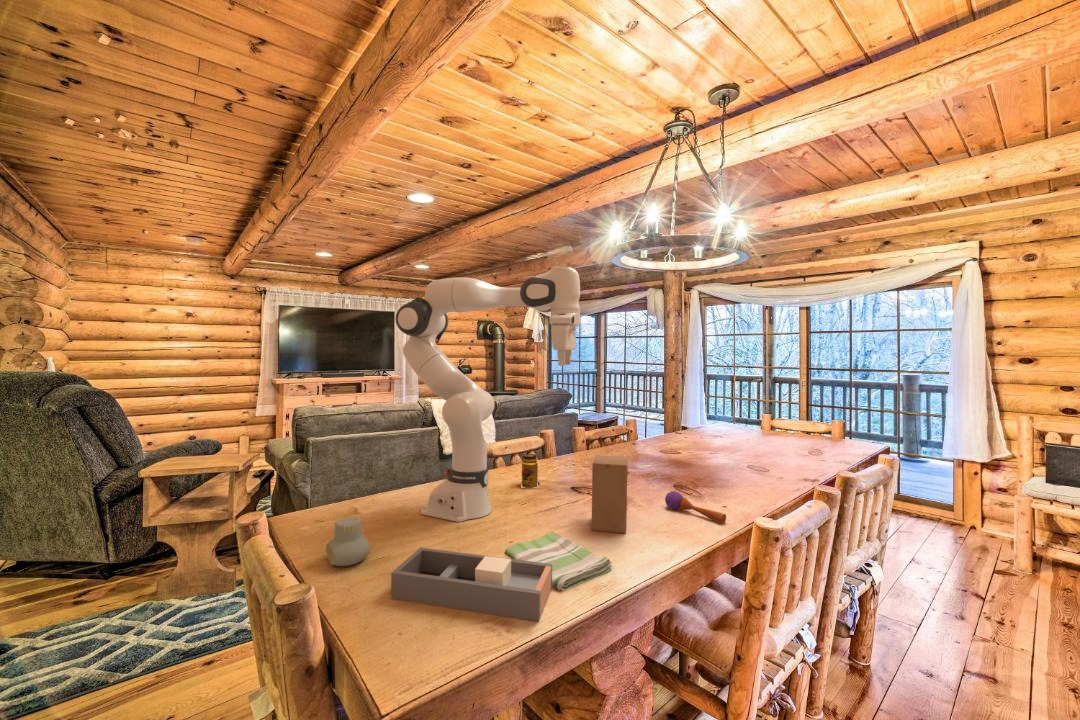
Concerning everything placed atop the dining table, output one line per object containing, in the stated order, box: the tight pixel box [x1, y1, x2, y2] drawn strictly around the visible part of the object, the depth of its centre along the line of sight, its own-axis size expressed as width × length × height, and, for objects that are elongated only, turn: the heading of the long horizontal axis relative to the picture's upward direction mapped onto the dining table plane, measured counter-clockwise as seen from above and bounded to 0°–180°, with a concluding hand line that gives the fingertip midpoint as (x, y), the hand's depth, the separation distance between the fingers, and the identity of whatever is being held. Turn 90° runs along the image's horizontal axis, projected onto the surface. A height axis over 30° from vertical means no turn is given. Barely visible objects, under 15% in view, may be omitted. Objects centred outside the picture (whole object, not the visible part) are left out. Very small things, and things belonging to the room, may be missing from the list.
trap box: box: [390, 547, 553, 623], centre depth 96 cm, size 32×12×6 cm, turn 77°
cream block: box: [475, 555, 512, 586], centre depth 95 cm, size 6×6×4 cm
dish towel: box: [504, 531, 613, 592], centre depth 112 cm, size 17×23×4 cm
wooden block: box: [590, 454, 629, 534], centre depth 134 cm, size 10×10×20 cm
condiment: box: [521, 453, 541, 489], centre depth 173 cm, size 7×8×12 cm
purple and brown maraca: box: [664, 490, 727, 525], centre depth 144 cm, size 6×6×20 cm
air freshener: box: [325, 516, 371, 567], centre depth 110 cm, size 11×8×10 cm
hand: (564, 365), depth 136 cm, fingers open, 8 cm apart
